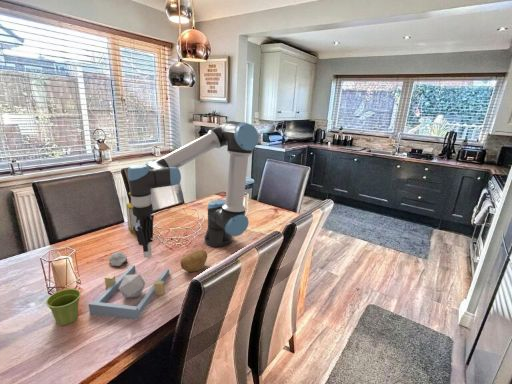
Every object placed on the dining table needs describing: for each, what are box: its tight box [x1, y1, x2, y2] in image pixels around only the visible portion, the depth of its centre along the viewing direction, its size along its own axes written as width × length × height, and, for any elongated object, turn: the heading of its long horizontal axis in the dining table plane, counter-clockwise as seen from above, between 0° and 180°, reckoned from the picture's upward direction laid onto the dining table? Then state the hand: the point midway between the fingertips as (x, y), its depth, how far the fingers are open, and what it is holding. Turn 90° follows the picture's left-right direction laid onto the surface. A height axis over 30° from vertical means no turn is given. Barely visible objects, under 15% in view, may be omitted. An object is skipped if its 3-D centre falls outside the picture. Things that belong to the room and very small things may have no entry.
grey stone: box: [108, 251, 128, 267], centre depth 127 cm, size 9×8×5 cm
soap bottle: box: [126, 191, 137, 235], centre depth 159 cm, size 7×13×24 cm, turn 125°
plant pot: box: [45, 288, 82, 326], centre depth 92 cm, size 9×9×9 cm
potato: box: [180, 249, 208, 273], centre depth 125 cm, size 10×14×8 cm
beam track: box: [88, 264, 170, 320], centre depth 108 cm, size 23×28×5 cm
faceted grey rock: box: [118, 273, 146, 299], centre depth 106 cm, size 8×9×10 cm
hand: (147, 256), depth 117 cm, fingers closed
